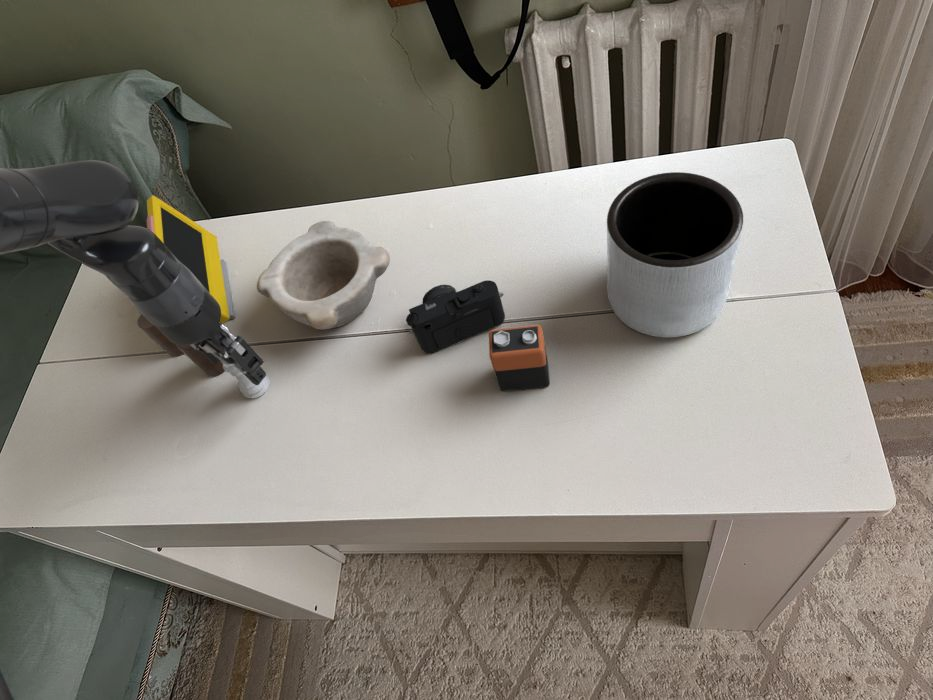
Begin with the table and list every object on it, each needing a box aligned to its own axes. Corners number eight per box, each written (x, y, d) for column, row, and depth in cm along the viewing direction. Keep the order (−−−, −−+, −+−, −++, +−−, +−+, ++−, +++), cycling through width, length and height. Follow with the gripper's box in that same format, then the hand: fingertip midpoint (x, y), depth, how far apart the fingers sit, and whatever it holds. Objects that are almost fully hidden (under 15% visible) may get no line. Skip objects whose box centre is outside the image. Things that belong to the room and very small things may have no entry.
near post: (217, 380, 96) (187, 352, 90) (199, 371, 98) (169, 343, 92) (233, 360, 98) (206, 331, 91) (216, 351, 100) (188, 322, 93)
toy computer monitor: (240, 331, 101) (185, 268, 88) (195, 350, 101) (132, 289, 88) (226, 249, 112) (176, 183, 99) (185, 266, 112) (129, 201, 99)
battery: (499, 365, 88) (487, 324, 79) (548, 360, 86) (540, 318, 78) (500, 392, 85) (487, 353, 77) (550, 388, 84) (543, 347, 76)
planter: (714, 353, 82) (731, 278, 69) (593, 328, 88) (589, 255, 75) (735, 261, 89) (755, 177, 76) (623, 243, 95) (624, 163, 82)
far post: (179, 360, 100) (148, 332, 94) (163, 351, 102) (131, 323, 95) (195, 341, 102) (166, 312, 95) (179, 333, 103) (150, 304, 97)
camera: (495, 288, 95) (486, 253, 89) (513, 323, 91) (505, 289, 85) (408, 325, 95) (392, 292, 88) (422, 361, 91) (406, 330, 84)
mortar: (413, 289, 98) (396, 250, 91) (338, 366, 93) (313, 331, 86) (343, 248, 107) (322, 209, 99) (270, 317, 101) (242, 281, 94)
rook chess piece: (268, 398, 93) (241, 371, 86) (240, 401, 93) (211, 373, 87) (273, 372, 95) (248, 343, 88) (246, 375, 96) (219, 346, 89)
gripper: (116, 305, 78) (189, 372, 91) (191, 343, 72) (258, 408, 85) (158, 262, 81) (223, 333, 94) (234, 295, 75) (291, 365, 88)
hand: (239, 369), depth 90 cm, fingers open, 8 cm apart
